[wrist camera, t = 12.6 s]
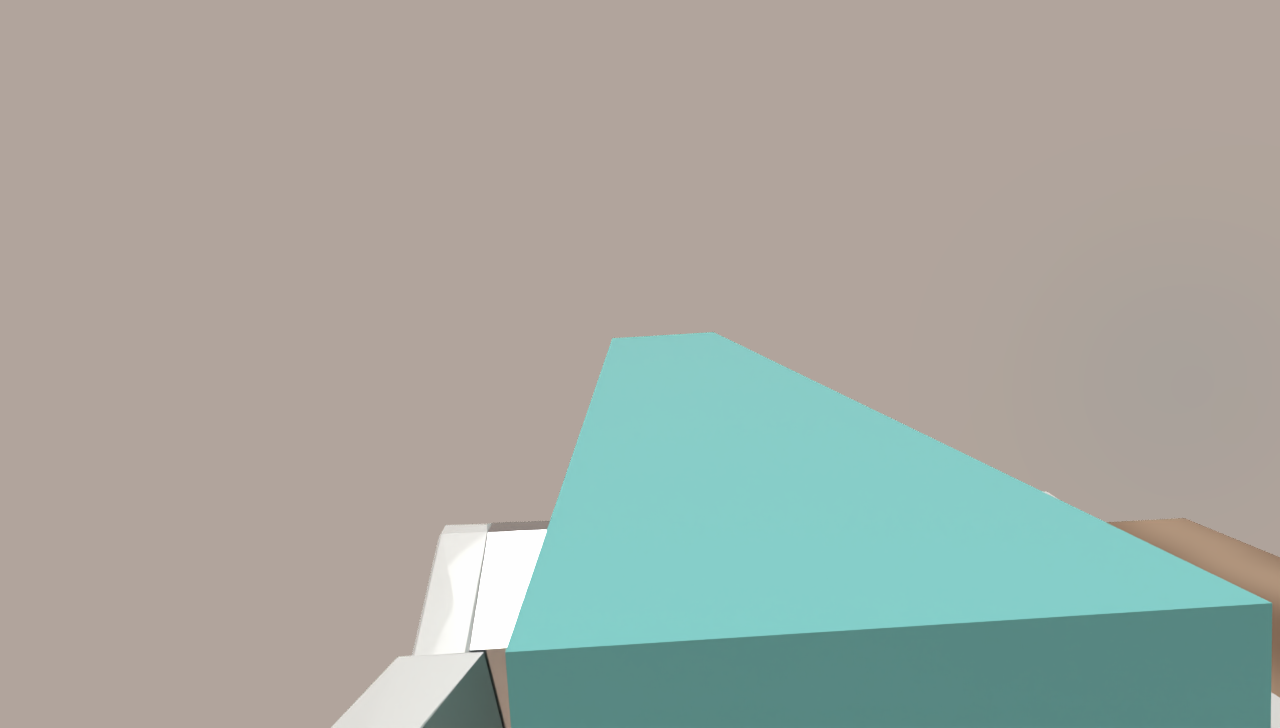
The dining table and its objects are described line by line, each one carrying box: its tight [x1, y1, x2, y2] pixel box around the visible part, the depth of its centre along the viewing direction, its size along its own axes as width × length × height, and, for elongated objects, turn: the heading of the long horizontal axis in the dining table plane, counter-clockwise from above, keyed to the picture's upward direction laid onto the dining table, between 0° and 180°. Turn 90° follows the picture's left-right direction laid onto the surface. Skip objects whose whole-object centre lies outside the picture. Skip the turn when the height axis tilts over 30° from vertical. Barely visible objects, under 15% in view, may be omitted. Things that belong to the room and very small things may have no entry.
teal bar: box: [505, 332, 1272, 728], centre depth 16 cm, size 4×24×4 cm, turn 1°
